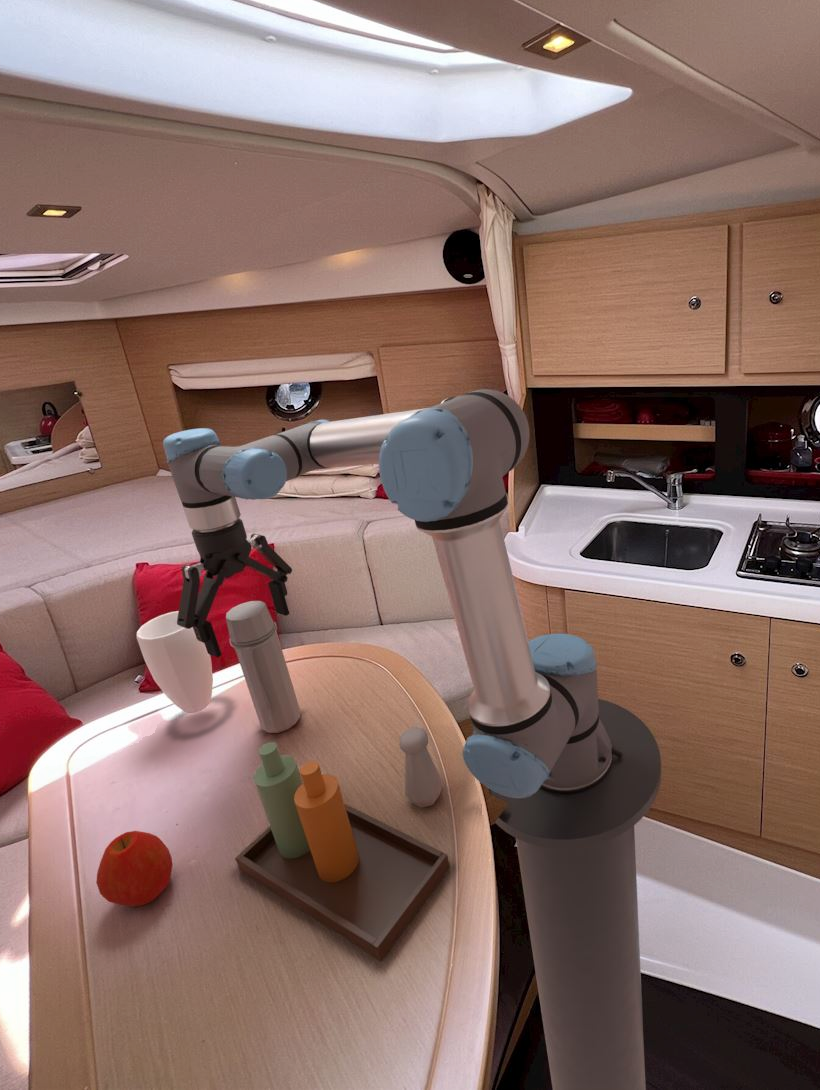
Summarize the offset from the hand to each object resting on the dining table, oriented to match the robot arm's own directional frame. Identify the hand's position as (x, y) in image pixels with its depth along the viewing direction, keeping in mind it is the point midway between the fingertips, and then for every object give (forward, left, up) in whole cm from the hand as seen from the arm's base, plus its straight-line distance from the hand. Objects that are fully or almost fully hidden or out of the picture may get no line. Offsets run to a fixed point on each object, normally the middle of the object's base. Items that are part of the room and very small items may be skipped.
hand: (250, 633), depth 107 cm
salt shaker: (-26, +26, -21) cm, 43 cm away
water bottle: (0, 0, -21) cm, 21 cm away
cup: (+16, -8, -21) cm, 27 cm away
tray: (-14, +35, -21) cm, 43 cm away
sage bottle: (-7, +29, -20) cm, 36 cm away
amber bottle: (-14, +35, -20) cm, 42 cm away
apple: (+13, +30, -21) cm, 39 cm away
